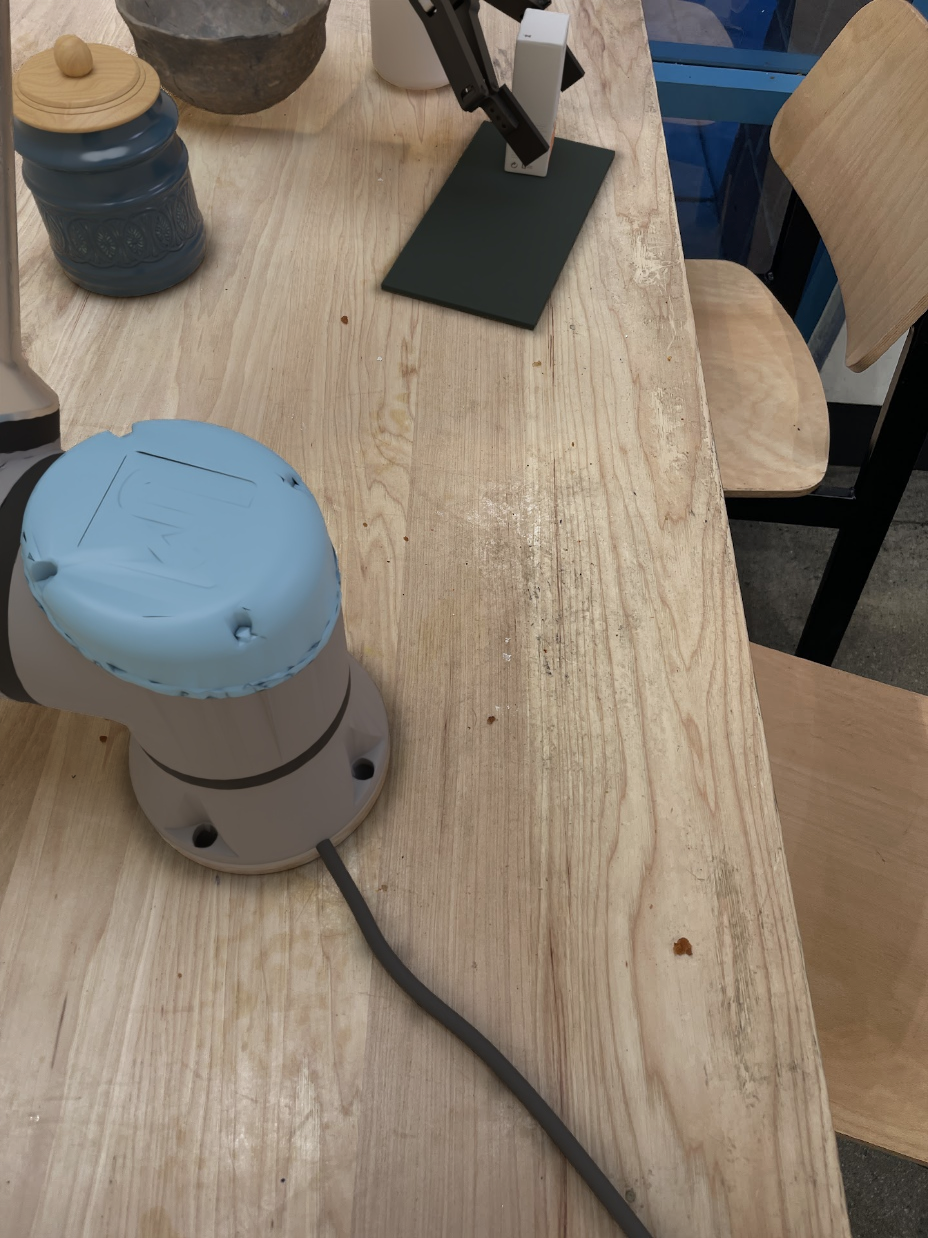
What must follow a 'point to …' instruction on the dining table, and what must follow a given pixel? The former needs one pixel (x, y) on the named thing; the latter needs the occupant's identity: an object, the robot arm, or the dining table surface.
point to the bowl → (229, 48)
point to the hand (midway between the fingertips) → (556, 118)
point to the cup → (403, 47)
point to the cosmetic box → (539, 79)
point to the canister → (107, 168)
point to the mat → (500, 230)
